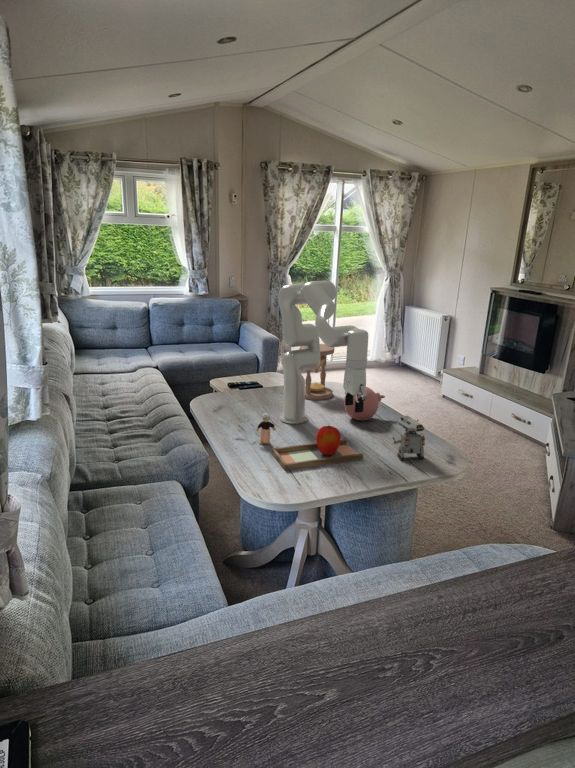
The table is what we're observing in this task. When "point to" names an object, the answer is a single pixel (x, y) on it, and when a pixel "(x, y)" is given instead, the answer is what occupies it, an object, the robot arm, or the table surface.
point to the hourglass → (316, 389)
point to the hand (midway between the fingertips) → (353, 408)
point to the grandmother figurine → (265, 429)
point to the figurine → (410, 438)
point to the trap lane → (312, 456)
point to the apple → (328, 440)
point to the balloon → (365, 405)
